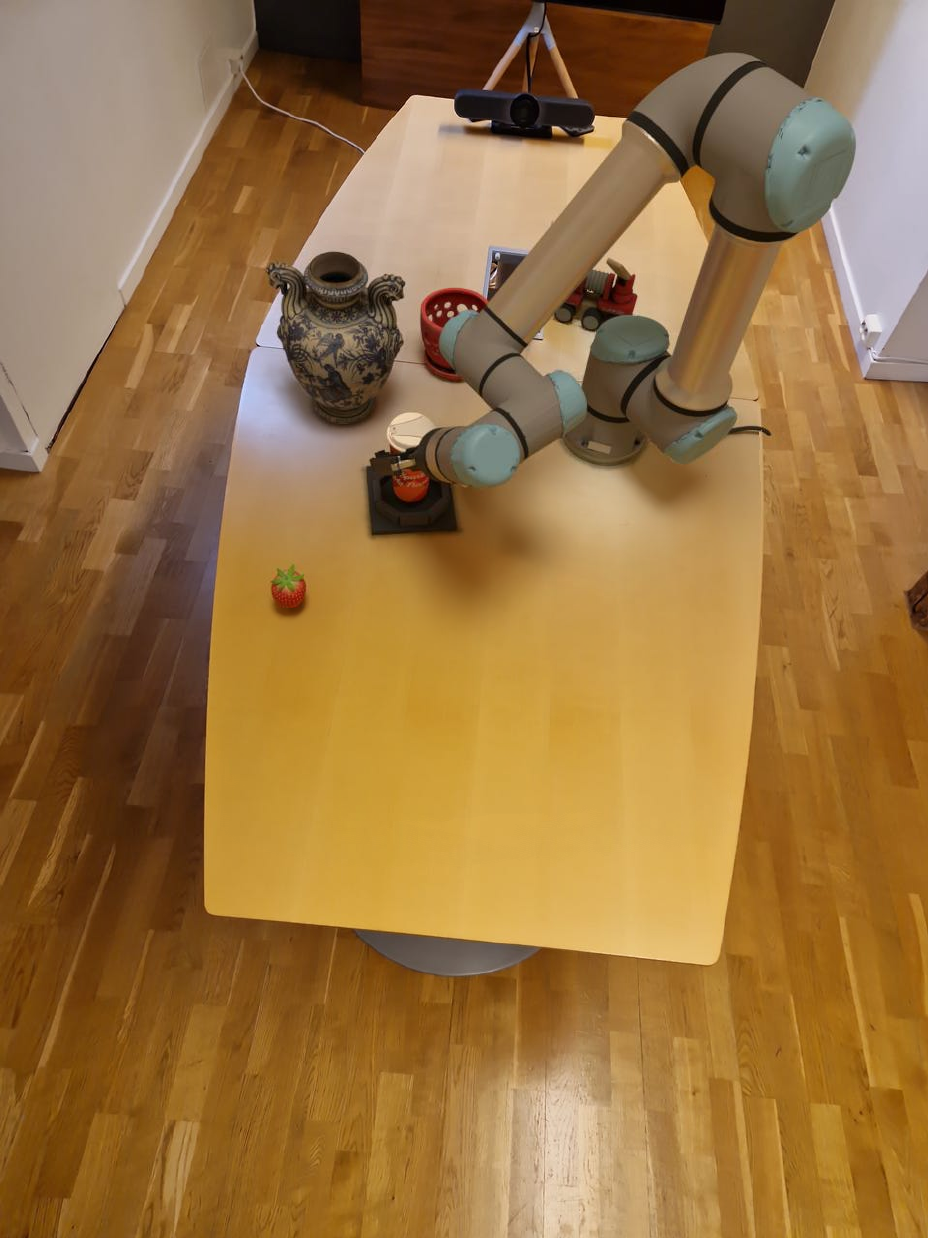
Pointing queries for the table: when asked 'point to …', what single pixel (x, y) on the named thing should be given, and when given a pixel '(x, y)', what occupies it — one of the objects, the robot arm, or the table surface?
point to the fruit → (288, 588)
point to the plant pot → (435, 327)
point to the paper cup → (401, 437)
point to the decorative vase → (338, 332)
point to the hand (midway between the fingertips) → (403, 453)
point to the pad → (409, 508)
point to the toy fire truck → (600, 298)
